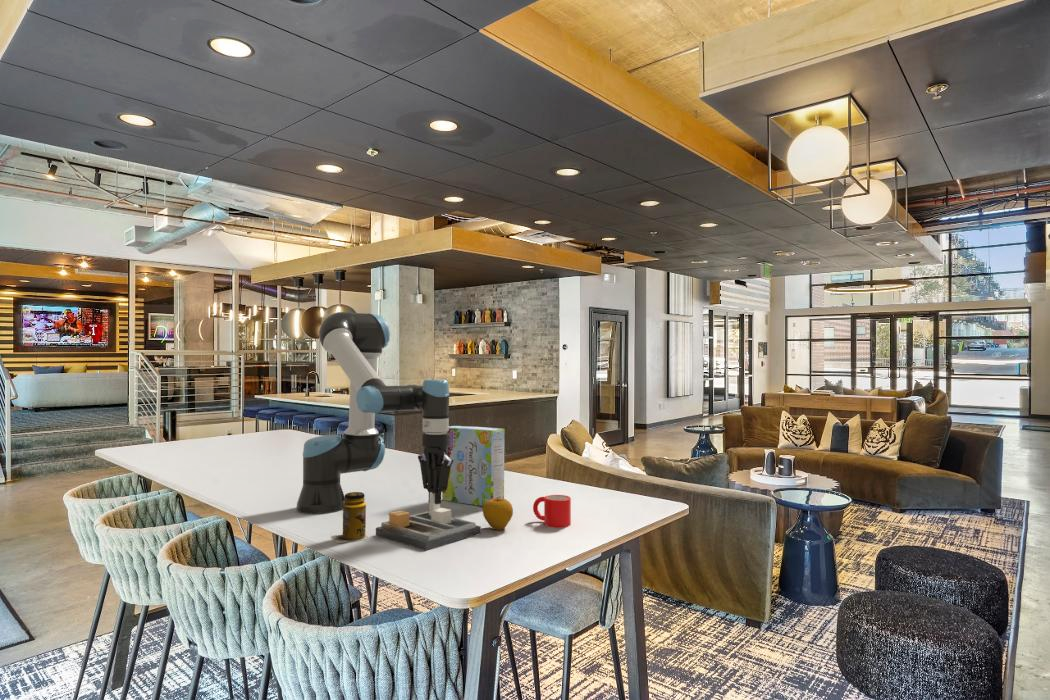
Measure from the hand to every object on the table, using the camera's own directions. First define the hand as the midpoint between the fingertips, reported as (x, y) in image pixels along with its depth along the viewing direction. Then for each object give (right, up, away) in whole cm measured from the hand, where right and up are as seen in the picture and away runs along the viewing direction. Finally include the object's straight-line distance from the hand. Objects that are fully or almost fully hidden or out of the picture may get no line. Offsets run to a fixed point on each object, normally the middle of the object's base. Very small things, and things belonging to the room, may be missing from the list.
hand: (434, 514), depth 173 cm
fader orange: (-9, -2, -6) cm, 11 cm away
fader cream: (+2, -2, -2) cm, 3 cm away
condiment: (-21, -4, -9) cm, 24 cm away
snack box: (+8, -5, +34) cm, 35 cm away
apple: (+18, -4, 0) cm, 19 cm away
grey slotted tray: (-1, -4, -6) cm, 7 cm away
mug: (+34, -5, +7) cm, 35 cm away
